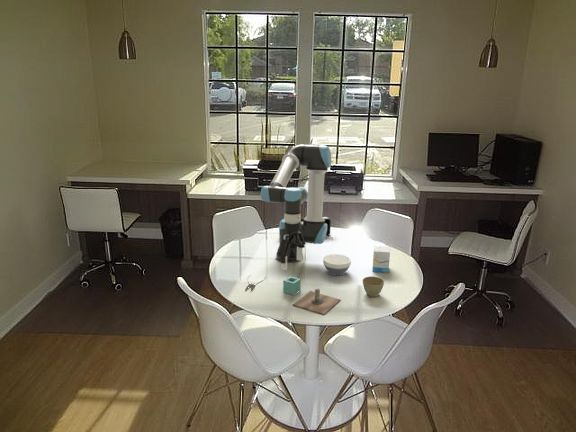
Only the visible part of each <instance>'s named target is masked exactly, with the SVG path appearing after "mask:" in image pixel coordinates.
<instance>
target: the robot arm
mask: <svg viewBox="0 0 576 432" xmlns="http://www.w3.org/2000/svg"><path fill="white" fill-rule="evenodd" d="M331 152H332V151H331V149H330V147H329V146H328V145H325V144H305V143H302V144H297V145H295V146H292V147H291V148H290V149H288V150H287V151H286V152H285V153H284V155H283V156H282V158H281V163H280V166H279V168H278V169H277V171H276V172H275V175H274V177H273V179H272V180H271V182H270V183H269V185H263V186H262V187H261V189H260V199H261V201H263V202H267V203H277V204H278V203H279V204H284V215H283V217H284V219H281V220H280V221H279V227H278V229H279V230H278V231H279V234H278V236H279V237H278V238H279V240H278V241H279V242H278V243H279V245H278V247H277V251H276V256H275V257H276V259H277V260H278V261H279V262H280V263H281V264H280V265H281V266H280V267H281V270H284V271H287V270H288V263H298V262H302V261H303V258H304V254H303V249H305V248H306V246H305V245H306V244H314V245H316V244H317V245H321V244H323V243H324V242H325V239H326V237H327V236H326V233H327V224H326V223H325V220H324V219H323V217H324V216H323V211H324V210H323V206H324V191H325V188H324V187H325V176H326V175H325V174H326V173H327V172H328V169H329V168H331V166H332V153H331ZM300 166H302V167H306V168H305V169H306V171H307V172H308V183H307V184H308V185H307V189H306V188H305V187H303V186H297V187H287V185H288V183H289V181H290V179H291V177H292V175H293V173H294V172H295V170H296V169H297V168H298V167H300ZM305 202H307V204H306V216H304V217H305V218H304V222H303V221H301V218H302V216H301V214H302V212H301V211H302V205H303V204H304V203H305Z"/></svg>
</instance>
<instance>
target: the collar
mask: <svg viewBox="0 0 576 432" xmlns="http://www.w3.org/2000/svg"><path fill="white" fill-rule="evenodd" d="M282 283H283V285H282V286H283V287H282V289H283V290H282V291H283V293H285V292H286V293H285V294H288V293H290V294H289V295H292V294H293V296H295V295H296V294H298V293H299V292H300V291H301V286H302V285H301V278H297V277H295V276H290V275H289V276H288V277H287V278H285V279H283V281H282ZM298 291H299V292H298ZM297 292H298V293H297ZM294 294H295V295H294Z"/></svg>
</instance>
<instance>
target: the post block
mask: <svg viewBox="0 0 576 432" xmlns="http://www.w3.org/2000/svg"><path fill="white" fill-rule="evenodd" d="M320 292H321V291H320V289H319V288H315V289H314V291H311V290H310V291H308V292H307V293H306V294H304V295H303V296H301V298H299V299H298V300H296V301H295V302H293V304H292V307H297V308H300V309H303V310H307V311H309V312H313V313H316V314H318V315H319V314H320V315H323V316H325V315H326V314H327V313H328V312H330V311H331V310H332V309H333V308H334V307H335V306H336V305H338V304H339V302H341V301H342V300H341V299H340V298H337V297H333V296H329V295H327V294H322V293H320Z"/></svg>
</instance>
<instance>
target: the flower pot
mask: <svg viewBox="0 0 576 432" xmlns="http://www.w3.org/2000/svg"><path fill="white" fill-rule="evenodd" d="M384 285H385V280H384V279H383V278H381V277H379V276H372V275H371V276H366V277H363V279H362V287H363V288H364V292H365V293H366V294H367V296H368V297H371V298H372V297H373V298H375V297H378V295H380V293H381V292H382V290H383V287H384Z"/></svg>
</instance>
